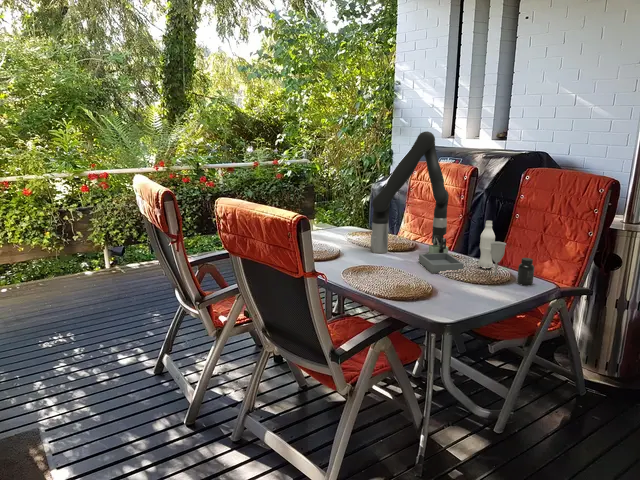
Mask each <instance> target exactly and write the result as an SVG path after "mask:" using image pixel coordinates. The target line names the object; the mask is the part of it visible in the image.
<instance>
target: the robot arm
mask: <svg viewBox="0 0 640 480" xmlns="http://www.w3.org/2000/svg"><path fill="white" fill-rule="evenodd" d="M423 156H424V158H425V162H426V163H425V164H426V170H427V174H428V177H429V180H430V184H431V188H432V190H431V191H432V195H433V196H432V197H433V199H434V201H435V207H434V209H433V220H432V233H431V235H432V236H431V243H432V245H438V246H439V248H440V249H439V253H444V249H446V246H447V238H445V237H444V235H446V234H447V227H448V219H447V218H448V203H449V198H450V197H449V192H448V191H447V189H446V187H445V179H444V175H443V171H442V168H441V165H440V162H439V159H438V154H437V150H436V137H435V135H434V133H432V132H430V131H422V132H420V133H419V134H418V135H417V137H416V140H415V141H414V143H413V145H412V146H411V148H410V150H409V151H408V152H407V154H405V156H404V157H402V159H401V160H400V162H399V163H398V164H397V165H396V167H395V168H394V170H393V171H392V173H391V174H390V176H389V178H388V179H387V182H386V183H385V185H384V186H383V188H382V189H381V191H379V192H378V194H377V195H375V196H374V198H373V199H372V202H371V204H372V209H373V210H372V211H373V212H372V219H371V220H372V223H371V234H370V251H371V253H373V254H386V253H388V249H389V248H388V247H389V246H388V245H389V244H388V243H389V219H390V204H391V201H392V200H393V199H394V197H395V195H396V194H397V193H398V192H399V191H400V190H401V188H402V187H404V185H405V184H406V183H407V181H408V180H410V177H411V176H412V174H414V172H415V170H416V168H417V166H418V165H419V162H420V161H421V159H422V158H423Z"/></svg>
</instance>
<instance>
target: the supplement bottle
mask: <svg viewBox="0 0 640 480" xmlns="http://www.w3.org/2000/svg"><path fill="white" fill-rule="evenodd" d="M533 261H534V260H533V258H529V257H522V258H521V263H519V264H518V269H517V279H516V283H517V282H518V283H519V284H518V283H517V284H518V285H520V284H522V285H521V286H524V285H530V286H533V284H534V283H533V282H534V274H535V265H534V264H533V263H534V262H533Z"/></svg>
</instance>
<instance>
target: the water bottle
mask: <svg viewBox="0 0 640 480" xmlns="http://www.w3.org/2000/svg"><path fill="white" fill-rule="evenodd" d="M479 237H480V238H479V239H480V241H479V242H480V243H479V249H480V257H479V259H478V262H477V263H478V267H479V266H482V267H492V268H493V264H494V263H493V262H494V261H493V259H492V256H491V253H490V252H491V244H490V242H496V235H495V232H494V230H493V220H486V221H485V227H484V229H483V231H482V232H481V234H480V236H479Z"/></svg>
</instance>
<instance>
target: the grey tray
mask: <svg viewBox="0 0 640 480" xmlns="http://www.w3.org/2000/svg"><path fill="white" fill-rule="evenodd" d="M418 263H419V264H420V263H421V264H420V265H421V266H423V267H424V266H425V267H426V268H425V267H424V268H425V269H427V271H429V272H430V273H431V274H433V275H434V274H436V273H437V274H439V273H438V272H440V271H446V270H458V269H463V270H464V263H463V261H460V260H459V259H458V258H457V257H455V256H453V255H452V254H450V253H449V252H448V253H432V254H428V253H419V254H418Z"/></svg>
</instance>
